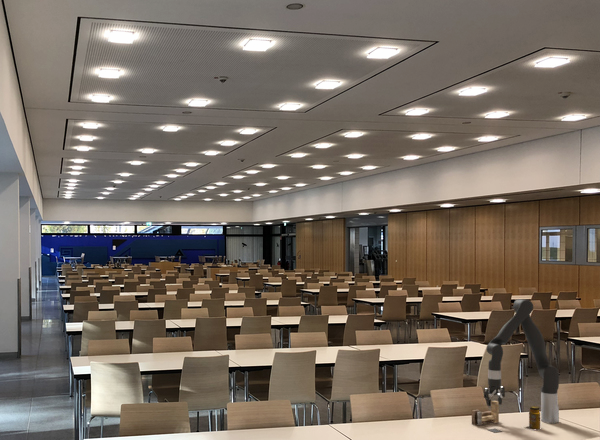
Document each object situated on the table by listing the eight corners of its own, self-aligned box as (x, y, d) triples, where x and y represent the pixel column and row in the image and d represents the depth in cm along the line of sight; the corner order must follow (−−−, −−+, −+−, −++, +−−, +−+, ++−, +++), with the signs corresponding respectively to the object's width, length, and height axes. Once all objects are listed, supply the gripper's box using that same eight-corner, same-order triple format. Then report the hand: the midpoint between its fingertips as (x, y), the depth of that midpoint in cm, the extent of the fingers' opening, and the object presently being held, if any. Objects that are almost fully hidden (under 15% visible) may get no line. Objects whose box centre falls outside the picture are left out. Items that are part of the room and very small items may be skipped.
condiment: (543, 428, 362) (543, 407, 362) (534, 431, 357) (534, 409, 357) (532, 425, 368) (532, 404, 368) (523, 427, 363) (523, 406, 364)
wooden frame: (494, 421, 375) (494, 400, 375) (498, 422, 372) (498, 401, 373) (476, 424, 368) (476, 403, 368) (479, 425, 365) (479, 404, 366)
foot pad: (494, 428, 360) (494, 428, 360) (502, 431, 355) (502, 431, 355) (487, 430, 358) (487, 429, 358) (494, 432, 352) (494, 432, 352)
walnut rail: (494, 420, 378) (494, 406, 379) (497, 421, 376) (497, 407, 377) (471, 424, 370) (471, 410, 370) (474, 425, 368) (474, 411, 368)
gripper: (498, 375, 381) (498, 402, 380) (480, 377, 374) (480, 404, 373) (508, 377, 374) (508, 405, 373) (490, 379, 367) (490, 407, 367)
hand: (494, 405), depth 373 cm, fingers open, 8 cm apart
